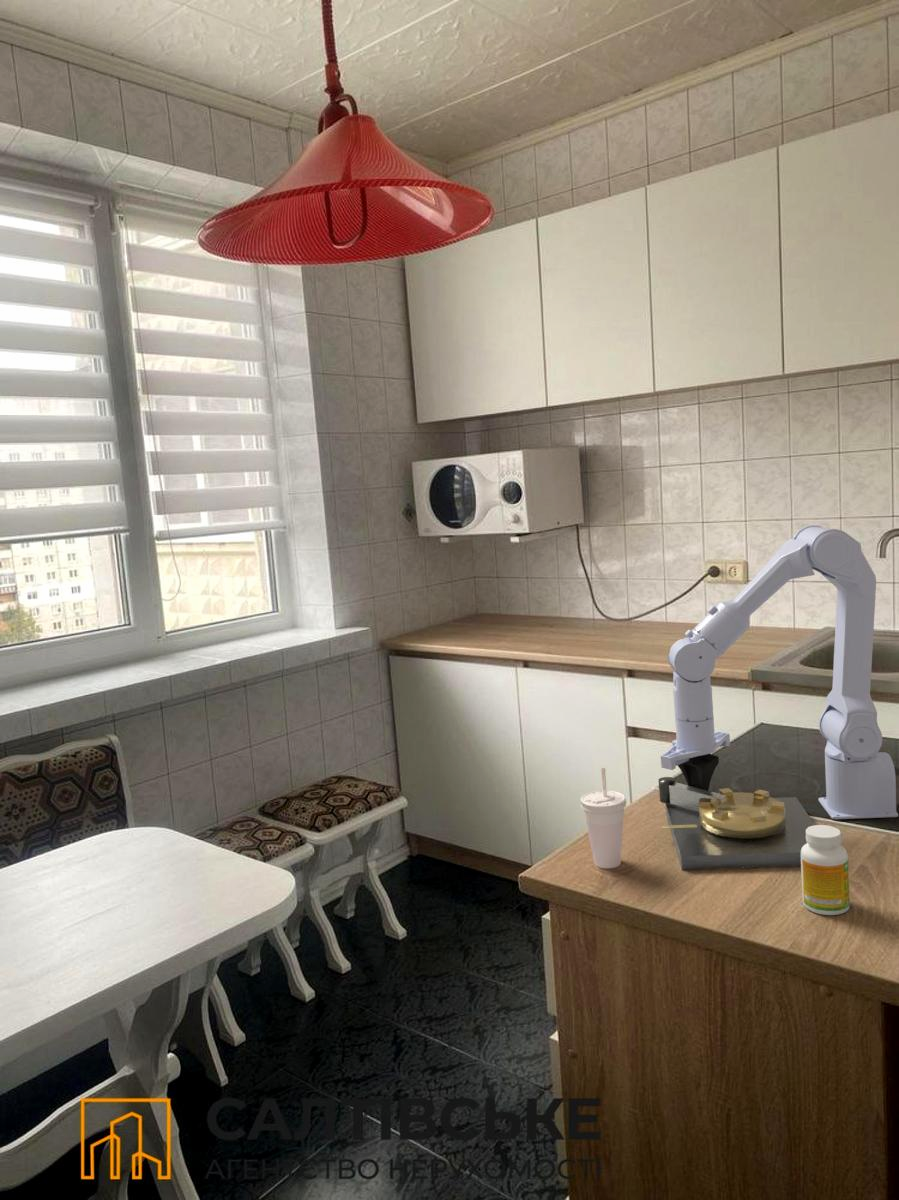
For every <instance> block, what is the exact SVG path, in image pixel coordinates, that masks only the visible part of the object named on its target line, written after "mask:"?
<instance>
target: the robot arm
mask: <svg viewBox="0 0 899 1200" xmlns="http://www.w3.org/2000/svg"><path fill="white" fill-rule="evenodd" d="M815 572H818V573H820V574H821V575H822V577H824V578H825V579H826V580H828V581H829V582H830V583H831V584H832V585H833V586H834V587H835V588H836V590H837V591H836V592H837V593H836V605H835V606H836V610H835V630H834V631H835V632H834V645H833V646H834V649H833V668H832V669H833V670H832V689H831V690H830V692H828V694H827V696H826V698H825V707H824V709H823V712H822V713H821V714H820V717H819V719H818V728H819V732H820V734H821V736H823V738H824V739H826V746H825V747H824V766H825V767H824V768H825V792H826V794H825V795H826V796H825V797H818V802H819V803H820V805H821V806H822V807H823V809H824V810H825V811H826V813H827V814H828V815H829V816H830V818H831V819H832V820H850V819H851V820H855V819H875V818H876V819H877V818H878V819H879V818H897V817H899V813H898V812H897V783H896V782H897V781H896V769H895V765H894V761H893V759H892V757H891V755H890V753H888V752H884V751H883V752H881V751H880V749H881V747H882V744H883V733H882V731H881V729H880V727H879V724H878V712H877V709H876V706H875V704H874V700H873V699H872V697H871V683H872V666H873V665H872V664H873V650H874V649H873V646H874V632H875V631H874V628H875V627H874V626H875V615H876V613H875V611H876V593H877V591H876V590H877V577H876V575H875V572H874V570H873V569H872V567H871V565H870V563H869V561H868V560H867V558H866V556H865V555H864V553H863V551H862V545H861V543H860V542H859V541H858V540H856V539H855V538H854V537H852V536H851V535H850V534H848V533H847V532H846V531H844V530H842V529H837V528H828V527H823V526H821V525H820V526H819V525H815V524H814V525H813V524H811V525H807V526H804V527H802V528H801V529H799V530H798V531H797V532H796V533H795V534H794V536H793V537H792V538H790V539H788V540H787V541H786V542H785V543H783V544H782V545H781V547H780V548H779V549H778V550H777V552H776V553H775V554H774V555H773V556H772V557H771V558H770V560H769V561H768V562H767V563H766V564H765V565H764V566H763V567H762V568H761V569H760V571H759V572H757V574H756V575H755V576H754V577H753V578H752V579H751V581H750V582H748V584H747V585H746V586H745V587H744V589H742V590H741V592H739V594H738V595H737V596H736V597H735V598H734V599H733V600H729V601H720V602H718V604H717V605H716V606H715V605H714V604H711V605H710V606H709V607H708V608H706V611H707V613H708V614H707V615H706V616H705V617H704V618H703V619H702V620H700V622H699V623H698V624H697V625H695V626H694V628H693V629H692V630H690V629H688V630H686V632H685V633H684V635H685V636H686V637H684V638H680V639H678V640H677V641H675V642H674V643H673V644H672V646H671V647H670V650H669V653H668V655H667V662H668V664H669V666H670V667H671V668H672V670H674V671H673V673H672V676H673V678H672V681H673V687H672V688H673V689H672V690H673V691H672V692H673V703H674V705H673V707H674V721H675V734H676V735H675V737H676V739H673V740H672V741H671V745H672V747H671V748H669V750H667V751H666V752H665V753H662V754H661V755H660V765H661V768H662V769H665V770H670V771H673V770H675V769H676V767H678V768H679V770H680V771H681V774H682V775H683V776H684V779H685V780H686V781H685V782H686V784H687V785H688V786H692V787H695V788H699V789H703V790H707V791H709V789H710V785H711V781H712V777H713V774H714V772H715V770H716V768H717V766H718V764H719V762H720V759H719V756H718V755H716V754H712V753H715V752H716V751H717V750H718V749H719V748H721V747H729V746H731V737H730V733H729V732H728V733H727V732H723V731H718V732H715V721H714V719H715V718H714V705H713V703H714V702H713V688H712V685H711V675H712V674H713V672H714V670H715V667H716V660H717V659H719V658H721V657H722V655H723V654H724V653H726V651H728V650H729V648H731V647H732V645H735V643H737V642H736V641H738V640H739V639H740V638H741V637H742V635H744V634H745V633H746V632H747V631H748V629H750V617H751V616H752V614H753V613H755V612H756V611H757V610H758V609H759V608H761V606H762V605H763V604H764V603H766V602H767V601H768V600H769V599H770V598H771V597H773V595H774V594H775V593H777V592H778V591H779V590H780V589H781V588H782V587H784V586H785V584H788V582H789V581H790V580H794V579H798V578H799V579H800V578H804V577H805V578H806V577H811V576H815ZM879 751H880V752H879Z"/></svg>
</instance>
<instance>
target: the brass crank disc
mask: <svg viewBox="0 0 899 1200" xmlns="http://www.w3.org/2000/svg"><path fill="white" fill-rule="evenodd" d="M658 790H659V791H658V792H659V795H658V796H659V802H660V803H662V804H665V803H671V804H674V805H678V806H681V807H685V808H688V809H691V810H695V811H698V812H699V818H700V824H701V825H702V827H703V828H705V829H706V830H708V831H710V832H712V833H715V834H718V835H722V836H726V837H733V838H760V837H766V836H770V835H773V834H776V833H778V832H780V831H781V830H782V829H784V827H785V825H786V821H785V807H784V802H780V801H778V800H776V799H774V798H775V797H771V796H770V791H768V790H763V789H761V788H760V789H758V790H755V791H754V792H753V793H752V792H742V791H741V792H740V791H739V792H738V791H737V792H734V791H733V790H732V789H730V787H726V788H719V789H718V792H714V791H709V790H708V791H707V790H703V789H699V788H695V787H692V786H688V784H683V783H680V782H676V778H674V777H671V776H663V777H660V778H659V779H658Z"/></svg>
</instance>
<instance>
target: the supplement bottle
mask: <svg viewBox="0 0 899 1200" xmlns="http://www.w3.org/2000/svg"><path fill="white" fill-rule="evenodd" d="M806 842H807V844H805V845H804V846H803V847H802V849H801V866H800V871H801V872H800V873H801V875H800V876H801V878H800V879H801V895H802V897H801V899H802V904H803V905H804V907H805V908H806V909H807V910H808V911H810V912H812V913H814V914H815V913H816V914H818V915H823V916H836V915H842V914H845V913H846V912H848V911H849V909H850V906H851V905H850V902H851V900H850V899H851V898H850V879H849V878H850V877H849V875H850V874H849V873H850V871H849V855H848V853H849V852H847V849H845V847H844V846H842V845H841V844H842V832H841V830H840V829H838V828H837V827H834V826H831V825H826V824H815V825H814V826H810V827H808V828H807V829H806Z"/></svg>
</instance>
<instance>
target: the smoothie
mask: <svg viewBox="0 0 899 1200" xmlns="http://www.w3.org/2000/svg"><path fill="white" fill-rule="evenodd" d="M600 769H601V770H600V771H601V785H602V790H595V791H590V792H587V793H585V794H584V795H582V796H581V797H580V808H581V809H583V812H584V819H585V823H586V827H587V832H588V838H589V843H590V848H591V852H592V857H593V862H594V863H593V864H594V865H595V867H597V868H601V869H606V870H607V869H615V868H618V867H619V866H620V865H621V863H622V850H623V849H622V848H623V847H622V844H623V833H624V832H623V831H624V829H623V827H624V817H625V816H624V813H625V808H626V806H627V801H626V800H627V799H626V796H625V795H624V794H623V793H621V792H618V791H614V790H607V789H608V787H607V778H606V777H607V776H606V767H605V766H601V767H600Z"/></svg>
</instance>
